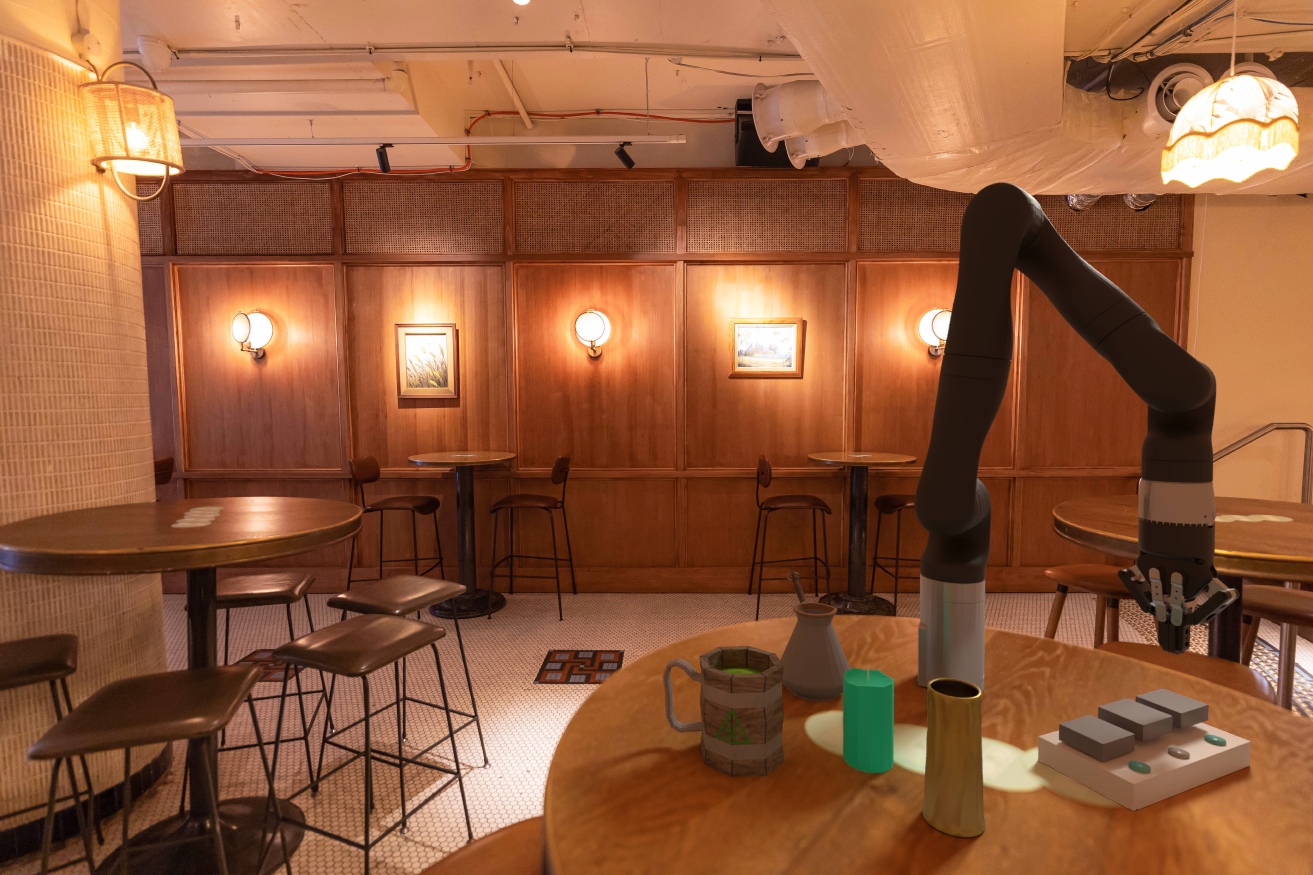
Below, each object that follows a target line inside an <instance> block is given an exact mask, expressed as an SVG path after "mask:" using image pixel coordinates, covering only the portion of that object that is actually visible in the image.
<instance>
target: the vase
mask: <svg viewBox="0 0 1313 875" xmlns="http://www.w3.org/2000/svg"><path fill="white" fill-rule="evenodd" d="M926 688H927V690H926V704H927V706H926V708H927V710H926V712H927V724H926V725H927V727H926V738H925V739H926V740H925V741H926V743H925V744H926V746H925V749H926V750H925V751H926V753H925V766H924V782H923V802H922V806H921V808H922V809H921V811H922V816H923V818H924V820H925V821H926V822H927V823H928V824H929V825H930V826H931V827H933V828H934V829H936V830H938V831H940V832H941V833H944V834H946V835H949V836H954V837H959V838H973V837H977V836H979V835H982V833H983V832H984V831H985V829H986V819H985V815H984V814H985V813H984V812H985V811H984V810H985V809H984V806H985V805H984V774H983V773H984V772H983V771H984V770H983V769H984V768H983V765H984V764H983V762H984V760H983V736H982V735H983V734H982V732H983V731H982V730H983V729H982V721H983V716H982V715H983V714H982V700H983V692H981V690H980V688H979V687H977V686H976V685H974V684H972V683H970V682H967V681H964V680H960V679H955V678H935V679H932V680H930V681H929V682H928V684H927V687H926Z"/></svg>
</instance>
